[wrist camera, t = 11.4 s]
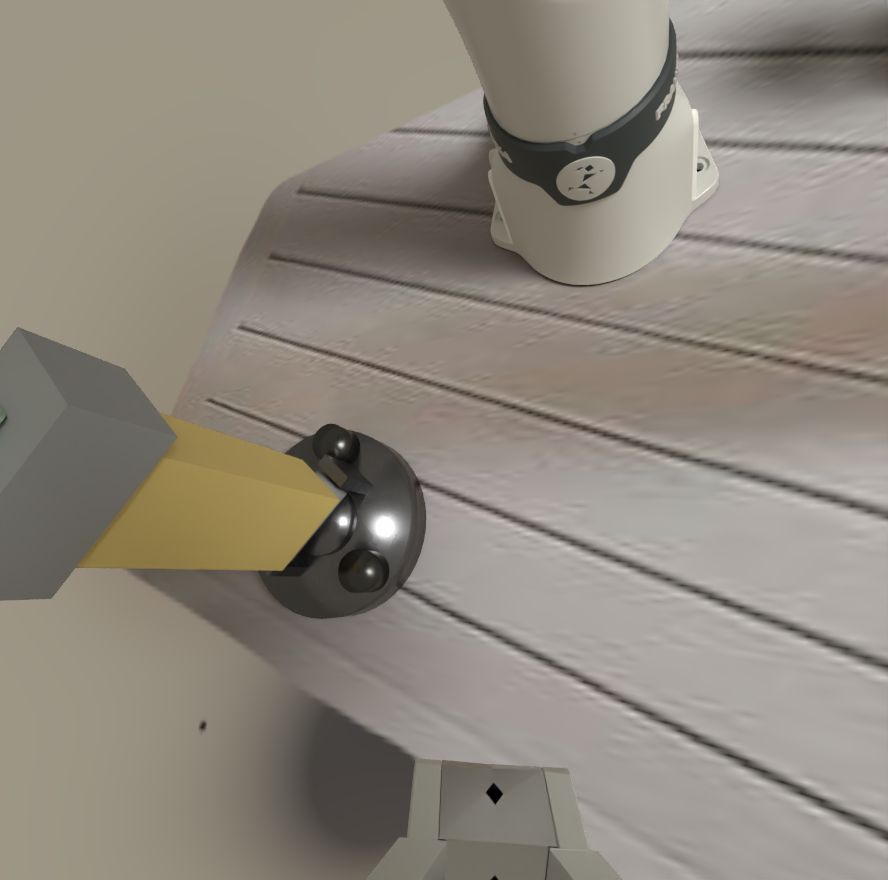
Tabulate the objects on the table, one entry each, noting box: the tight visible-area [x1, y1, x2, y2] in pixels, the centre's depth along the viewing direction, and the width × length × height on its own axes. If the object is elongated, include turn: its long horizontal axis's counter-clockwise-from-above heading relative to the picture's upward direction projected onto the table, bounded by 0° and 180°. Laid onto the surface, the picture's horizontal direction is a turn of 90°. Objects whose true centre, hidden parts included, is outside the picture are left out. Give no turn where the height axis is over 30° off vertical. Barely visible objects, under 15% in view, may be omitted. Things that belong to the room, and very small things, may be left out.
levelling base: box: [258, 424, 426, 619], centre depth 44 cm, size 16×16×7 cm
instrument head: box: [0, 327, 347, 601], centre depth 31 cm, size 8×10×26 cm
